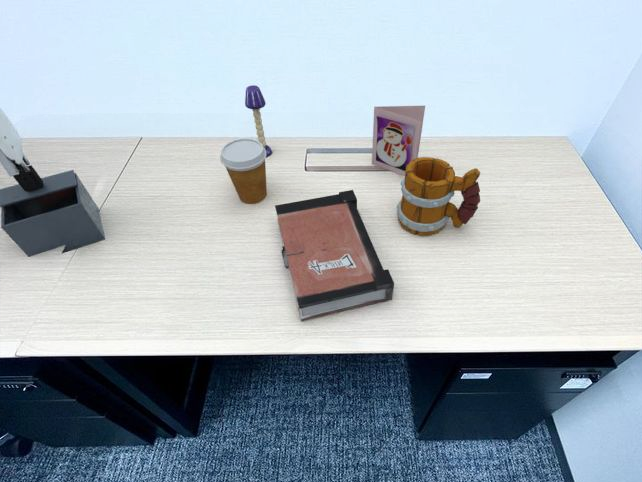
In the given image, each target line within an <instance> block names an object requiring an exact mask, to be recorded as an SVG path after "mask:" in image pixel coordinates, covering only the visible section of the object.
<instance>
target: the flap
mask: <svg viewBox="0 0 642 482" xmlns="http://www.w3.org/2000/svg"><path fill="white" fill-rule="evenodd" d="M75 173H76V172H75V170H74V169H71V170H67V171H64V172H59V173H55V174H52V175H48V176H45V177H40V178H41V179H42V180H43V185H44V187H43V188H39V189H36V190H32V191H28V192H26V191H24V190H23V188H22V187H21V186H20V185H19V183H17V184H15V185H11V186H6V187H3V188H0V208H1V207H4V206H7V205H11V204H14V203H18V202H21V201H25V200H29V199H32V198H36V197H39V196H43V195H47V194H50V193H54V192H57V191H61V190H64V189H68V188H72V187H75V186H77V184H76V178H75Z"/></svg>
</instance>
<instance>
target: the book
mask: <svg viewBox="0 0 642 482" xmlns="http://www.w3.org/2000/svg"><path fill="white" fill-rule="evenodd" d="M274 207H275V212H276V213H275V214H276V217H277V224H278V227H279V231H280V236H281V240H282V244H283V245H282V246H281V248H282V249H281V254H282V261H283V265H284V268H286V269H288V270H289V275H290V278H291V279H290V280H291V282H292V288H293V292H294V296H295V301H296V304H297V307H298V312H299V316H300V320H301V321H300V322H304V321H309V320H313V319H317V318H321V317H326V316H330V315H334V314H337V313H342V312H343V313H344V312H347V311H350V310H355V309H360V308H364V307H368V306H372V305H376V304H380V303H384V302H388V301H389V302H390V301H392V300H393V296H394V289H395V281H394V279H393V277H392V275H391V272H390V270H389V269H388V268H387V269H384V267H383V265H382V263H381V261H380V258H379V256H378V254H377V251H376V249H375V246H374V245H373V242H372V240H371V237H370V235H369V233H368V231H367V228H366V225H365V224H364V221H363V219H362V217H361V215H360V212H359V210H358V198H357V196H356V194H355V191H354V189H350V190H344V191H339V192H338V193H337V194H332V195H326V196H320V197H315V198H310V199H304V200H298V201H291V202H287V203H286V202H285V203H281V204H275V205H274Z"/></svg>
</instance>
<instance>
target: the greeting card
mask: <svg viewBox="0 0 642 482" xmlns="http://www.w3.org/2000/svg"><path fill="white" fill-rule="evenodd" d="M425 110H426V105H392V106H391V105H388V106H386V105H385V106H382V105H381V106H374V107H373V125H372V126H373V127H372V149H371V150H372V151H371V165H373V166H376V167H379V168H382V169H384V170H387V171H390V172H392V173H395V174H398V175H401V176H403V177H405V170H406V166H407V164H408V163H409V162H410V161H413V160H414V159H416V158H419V153H420V146H421V137H422V131H423V125H424V119H425V112H426V111H425Z"/></svg>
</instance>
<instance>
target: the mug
mask: <svg viewBox="0 0 642 482" xmlns="http://www.w3.org/2000/svg"><path fill="white" fill-rule="evenodd" d="M480 175H481V171H480V170H479V169H478V168H476V167H475V168H472V169H469V170H468V171H467V172H465V173H464V174H463V176H458V175H456V172H455V170H454V167H453V166H452V165H450V163H448V161H446V160H444V159H441V158H437V157H436V158H435V157H430V156H429V157H427V156H422V157H418V158H416V159H414V160H413V161H410V162H409V163H408V164H407V166H406V170H405V176H403V179H401V181H400V186H401V188H400V190H401V194H402V195H401V199H400V200H399V202H398V203H397V204H396V209H397V211H396V213H397V215H396V216H397V221H398V224H399V225H400V227H401V228H402V229H404V230H405V231H406V232H409V234H413V235H418V236H422V237H423V236H425V237H429V236H433V235H436V234H438V233H440V232H441V231H443V229H444V228H445V226H446V224H447V222H448V220H450V219H451V222H452V226H453V227H455V228H461V227H462V226H463V225H467V223H468V222H469V221H471V219H472V218H473V217H474V215H475V213H476V212H477V211H478V209H479V204H480V203H481V195H480V192H481V189H480V185H479V182H478V181H477V180H478V179H479V177H480ZM455 192H460V194H461V196H462V199H463V200H462V201H461V203H460V205H459V207H457V206H456V205H455V203H453V202H450V201H451V199H452V198H454V196H455Z"/></svg>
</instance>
